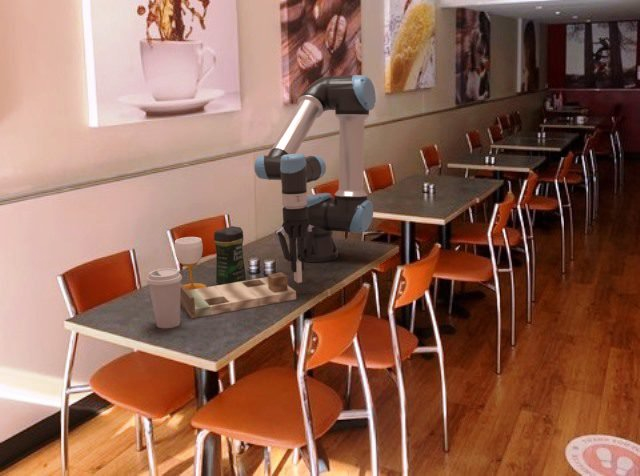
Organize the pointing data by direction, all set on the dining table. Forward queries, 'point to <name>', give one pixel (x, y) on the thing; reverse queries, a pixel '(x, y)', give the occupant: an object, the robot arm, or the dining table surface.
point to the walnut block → (277, 282)
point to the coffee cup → (165, 296)
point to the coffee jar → (229, 255)
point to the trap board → (231, 297)
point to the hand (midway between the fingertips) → (298, 281)
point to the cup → (189, 256)
